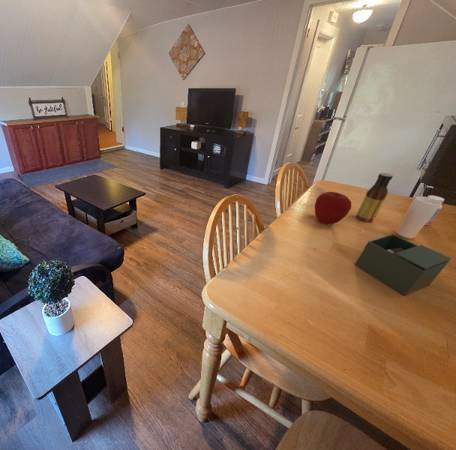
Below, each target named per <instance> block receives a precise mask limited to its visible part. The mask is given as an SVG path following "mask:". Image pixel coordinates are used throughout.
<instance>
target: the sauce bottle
mask: <svg viewBox="0 0 456 450" xmlns="http://www.w3.org/2000/svg"><path fill="white" fill-rule="evenodd" d="M392 178H393V174H391V173H387V172H379V174H378V176H377V179H376V181H375V183H374V184H373V185H372V186H371V187H370V188H369V190H368V191H366V194H365V195H364V197H363V200H362V202H361V203H360V206H359V208H358V210H357V212H356V218H357V219H358V220H360V221H363V222H369V223H370V222H373V221H375V219H376V217H377V215H378V213H379V212H380V210H381V208H382V206H383V204H384V202H385V200H386V197H387V195H388V193H389V192H388V186H389V184H390V181H391V180H392Z"/></svg>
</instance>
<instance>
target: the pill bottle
mask: <svg viewBox="0 0 456 450" xmlns="http://www.w3.org/2000/svg"><path fill="white" fill-rule="evenodd" d="M427 197H428V198H432V199H435V200H438V201H439V202H441V205H440V207H439V208H438V210H437V211H436V212H435V214H434V215H433V216H432V217H431V218H430V220H429V221H428V222H427V223H426V224H425V225H424V226H430V225H431V224H432V223H433V222H434V220H435V219H436V217H437V216H438V215H439V214H440V211H442V208H443V205H442V204H443V203H444V201H445V198H443V197H441V196H437V195H428V196H427Z"/></svg>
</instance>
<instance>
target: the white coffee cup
mask: <svg viewBox="0 0 456 450" xmlns="http://www.w3.org/2000/svg"><path fill="white" fill-rule="evenodd" d="M440 205H442V204H441V202H439V201H438V200H435V199H432V198H428V196H421V195H419V196H416V197H414V199H413V200H412V202H411V203H410V205H409V207H408V208H407V210H406V211H405V212H406V213H405V215H404V217H403V219H402V221H401V223H400V225H399V226H398V228H397V230H396V234H397V236H399V237H401V238H403V239H404V238H405V239H411V240H412V239H415V238H416V236H417V235H418V234H419V232H420V231H421V230H422V229H423V228H424V227H425V226H426V225H425V224H426V223H427V222H428V221H429V220H430V218H431V217H432V216H433V215H434V214H435V212H436V211H437V210H438V208H439V207H440Z"/></svg>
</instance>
